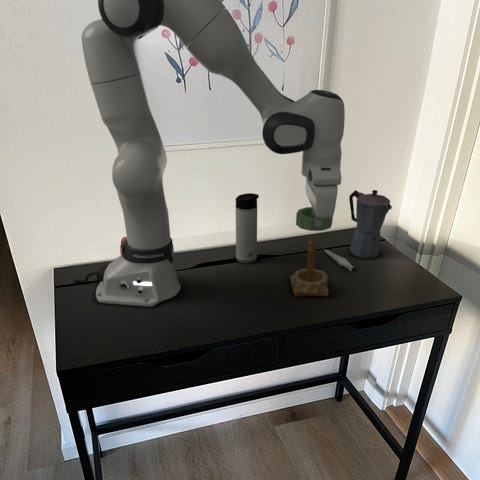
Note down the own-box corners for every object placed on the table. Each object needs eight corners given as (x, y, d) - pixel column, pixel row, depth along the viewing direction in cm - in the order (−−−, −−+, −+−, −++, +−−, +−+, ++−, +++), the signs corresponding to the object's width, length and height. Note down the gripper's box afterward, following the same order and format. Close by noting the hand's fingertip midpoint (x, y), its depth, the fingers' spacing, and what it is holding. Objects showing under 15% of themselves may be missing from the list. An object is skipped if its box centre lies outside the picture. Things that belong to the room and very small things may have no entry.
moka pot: (374, 265, 152) (384, 199, 141) (333, 249, 161) (339, 186, 151) (393, 255, 157) (403, 191, 147) (352, 241, 167) (359, 179, 156)
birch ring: (294, 294, 134) (294, 283, 133) (291, 278, 142) (291, 268, 140) (329, 293, 134) (330, 283, 133) (324, 278, 142) (325, 268, 140)
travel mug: (256, 264, 153) (256, 198, 142) (234, 262, 154) (233, 197, 143) (259, 255, 158) (260, 191, 147) (238, 254, 159) (237, 190, 149)
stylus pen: (356, 270, 149) (357, 264, 148) (348, 272, 148) (349, 266, 147) (327, 251, 160) (328, 245, 159) (320, 252, 159) (320, 247, 158)
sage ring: (298, 231, 127) (298, 219, 125) (293, 218, 134) (294, 207, 133) (335, 230, 127) (336, 218, 125) (329, 217, 134) (330, 206, 133)
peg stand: (294, 296, 136) (297, 248, 129) (290, 280, 144) (292, 234, 137) (328, 295, 137) (332, 247, 129) (322, 279, 144) (326, 233, 137)
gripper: (301, 155, 128) (298, 209, 135) (314, 180, 110) (309, 240, 118) (326, 155, 128) (322, 208, 135) (343, 179, 111) (337, 239, 118)
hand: (316, 223), depth 126 cm, fingers closed on sage ring
